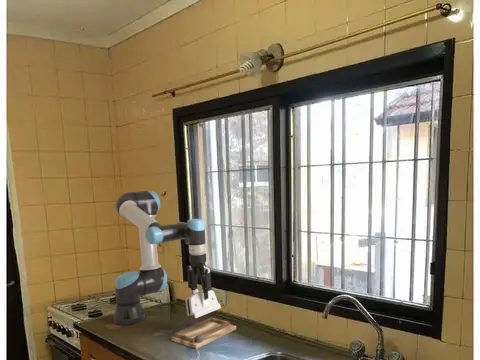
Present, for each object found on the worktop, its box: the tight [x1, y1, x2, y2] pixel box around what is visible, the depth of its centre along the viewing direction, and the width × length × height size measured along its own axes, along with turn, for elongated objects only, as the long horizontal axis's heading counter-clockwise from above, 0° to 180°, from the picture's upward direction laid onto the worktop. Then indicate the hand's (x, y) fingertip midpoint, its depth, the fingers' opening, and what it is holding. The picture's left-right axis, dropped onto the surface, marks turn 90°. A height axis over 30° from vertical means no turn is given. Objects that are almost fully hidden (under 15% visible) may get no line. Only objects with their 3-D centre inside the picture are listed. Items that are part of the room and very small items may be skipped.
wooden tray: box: [170, 316, 237, 350], centre depth 181 cm, size 16×25×4 cm, turn 140°
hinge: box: [185, 290, 222, 319], centre depth 181 cm, size 17×5×10 cm, turn 140°
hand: (200, 305), depth 182 cm, fingers closed on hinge, 5 cm apart
